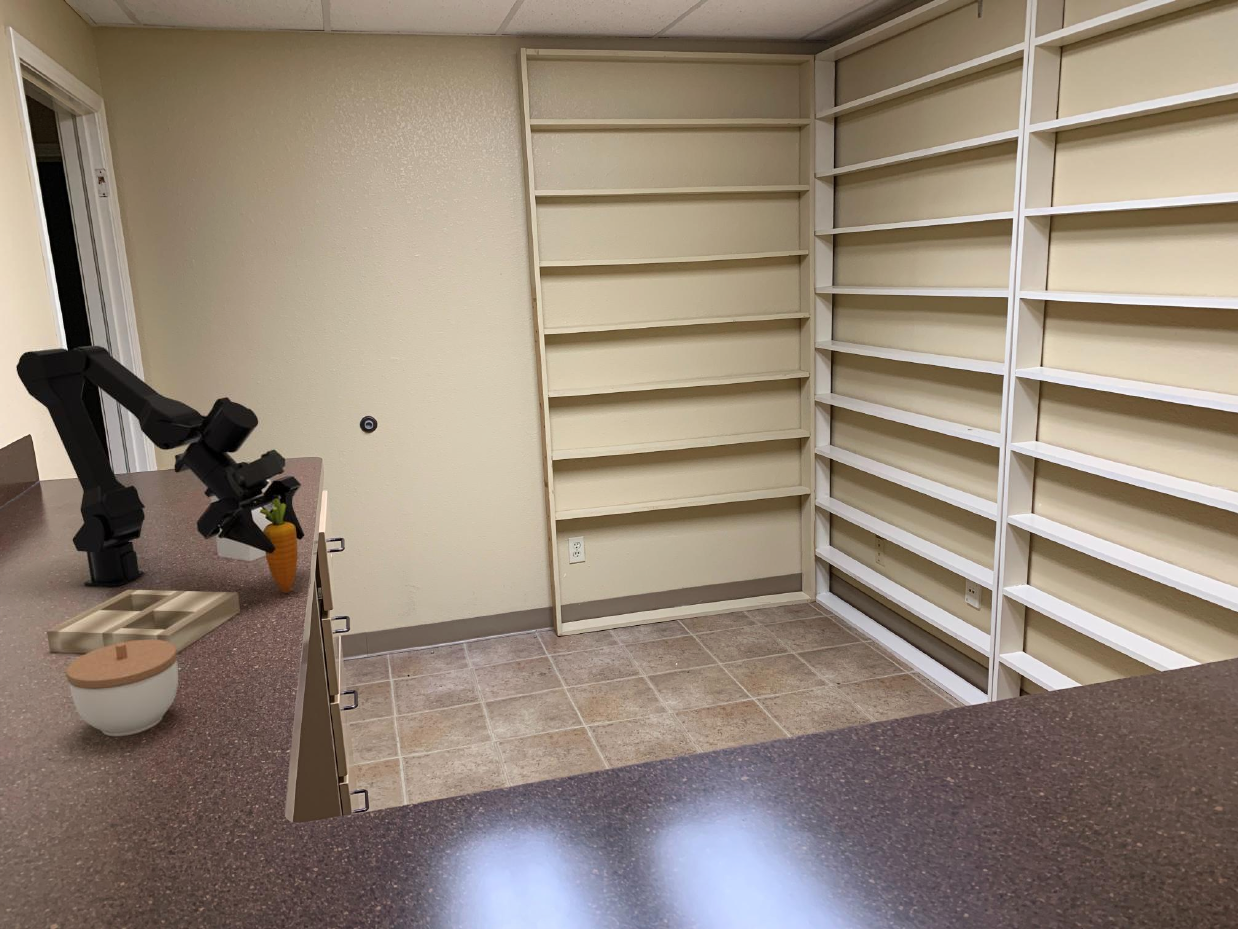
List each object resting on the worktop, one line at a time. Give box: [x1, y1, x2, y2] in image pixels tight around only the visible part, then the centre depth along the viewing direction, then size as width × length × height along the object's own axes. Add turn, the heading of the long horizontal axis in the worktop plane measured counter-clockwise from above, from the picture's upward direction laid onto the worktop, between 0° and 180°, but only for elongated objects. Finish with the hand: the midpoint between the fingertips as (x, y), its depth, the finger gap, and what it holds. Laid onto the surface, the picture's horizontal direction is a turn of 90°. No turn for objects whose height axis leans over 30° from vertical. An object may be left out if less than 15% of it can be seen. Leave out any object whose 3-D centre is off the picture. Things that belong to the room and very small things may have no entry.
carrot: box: [260, 499, 298, 595], centre depth 138 cm, size 5×5×15 cm
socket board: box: [46, 589, 241, 654], centre depth 126 cm, size 18×16×3 cm
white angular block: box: [210, 479, 272, 562], centre depth 163 cm, size 11×11×12 cm
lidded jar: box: [65, 640, 179, 737], centre depth 99 cm, size 11×11×9 cm
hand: (288, 544), depth 138 cm, fingers open, 7 cm apart
